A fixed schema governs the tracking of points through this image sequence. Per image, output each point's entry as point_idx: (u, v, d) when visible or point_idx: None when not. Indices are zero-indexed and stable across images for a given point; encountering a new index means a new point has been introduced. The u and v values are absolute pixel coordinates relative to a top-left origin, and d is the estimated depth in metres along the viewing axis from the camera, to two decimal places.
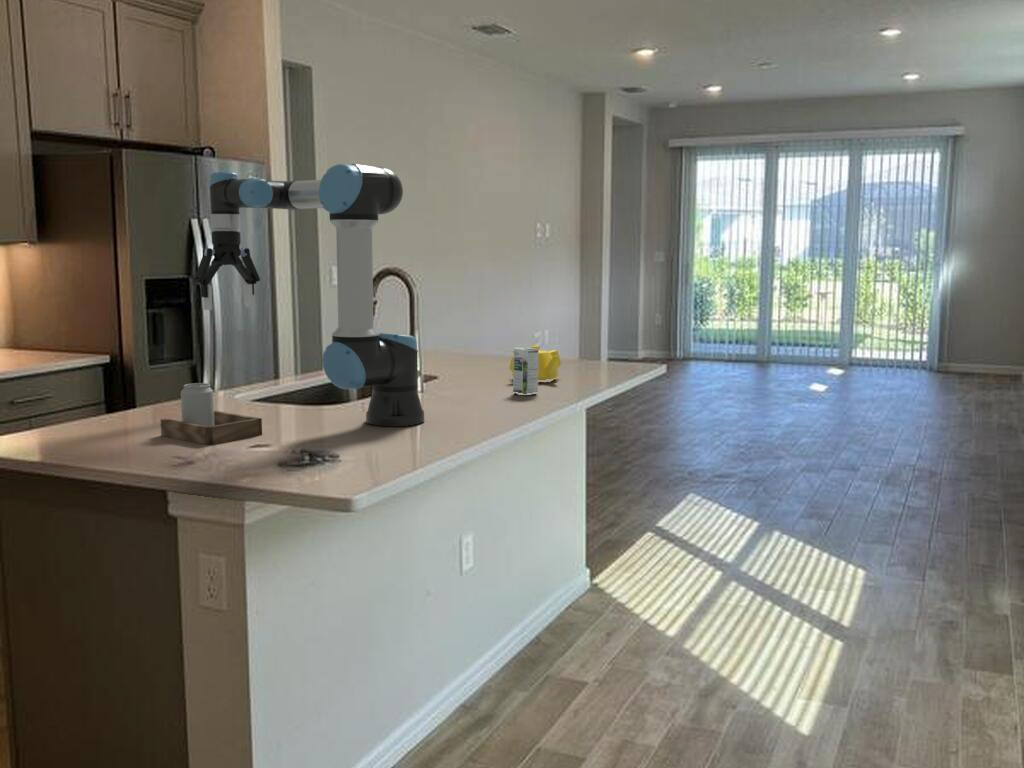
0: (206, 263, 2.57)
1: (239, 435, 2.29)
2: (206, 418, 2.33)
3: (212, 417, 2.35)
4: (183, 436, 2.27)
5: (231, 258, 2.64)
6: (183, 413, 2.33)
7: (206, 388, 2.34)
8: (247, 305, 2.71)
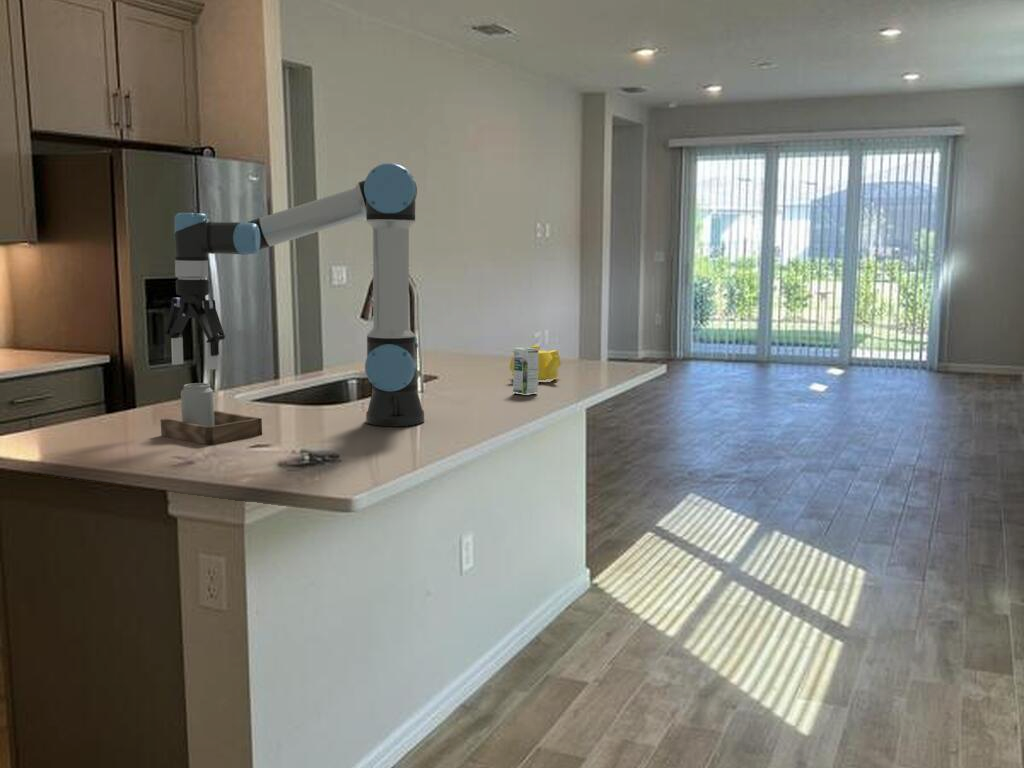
0: (169, 313, 2.36)
1: (239, 435, 2.29)
2: (206, 418, 2.33)
3: (212, 417, 2.35)
4: (183, 436, 2.27)
5: None
6: (183, 413, 2.33)
7: (206, 388, 2.34)
8: None
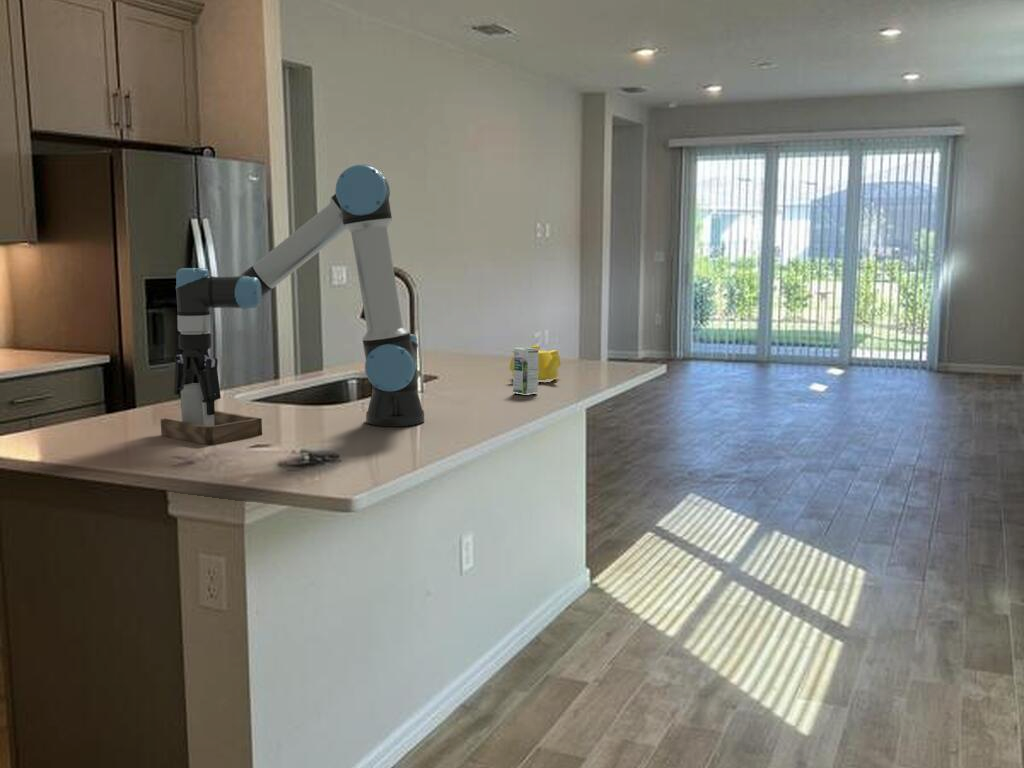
0: (175, 372, 2.37)
1: (239, 435, 2.29)
2: None
3: None
4: (183, 436, 2.27)
5: None
6: (183, 413, 2.33)
7: None
8: None
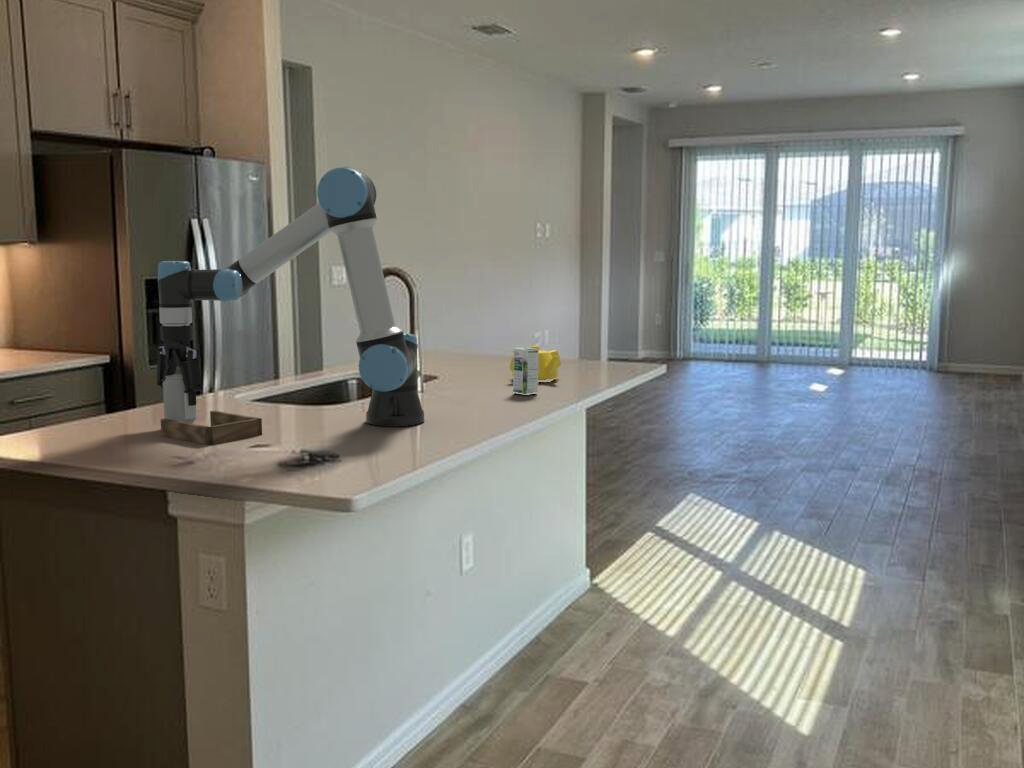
0: (158, 363, 2.41)
1: (239, 435, 2.29)
2: None
3: None
4: (183, 436, 2.27)
5: None
6: (165, 403, 2.37)
7: None
8: None
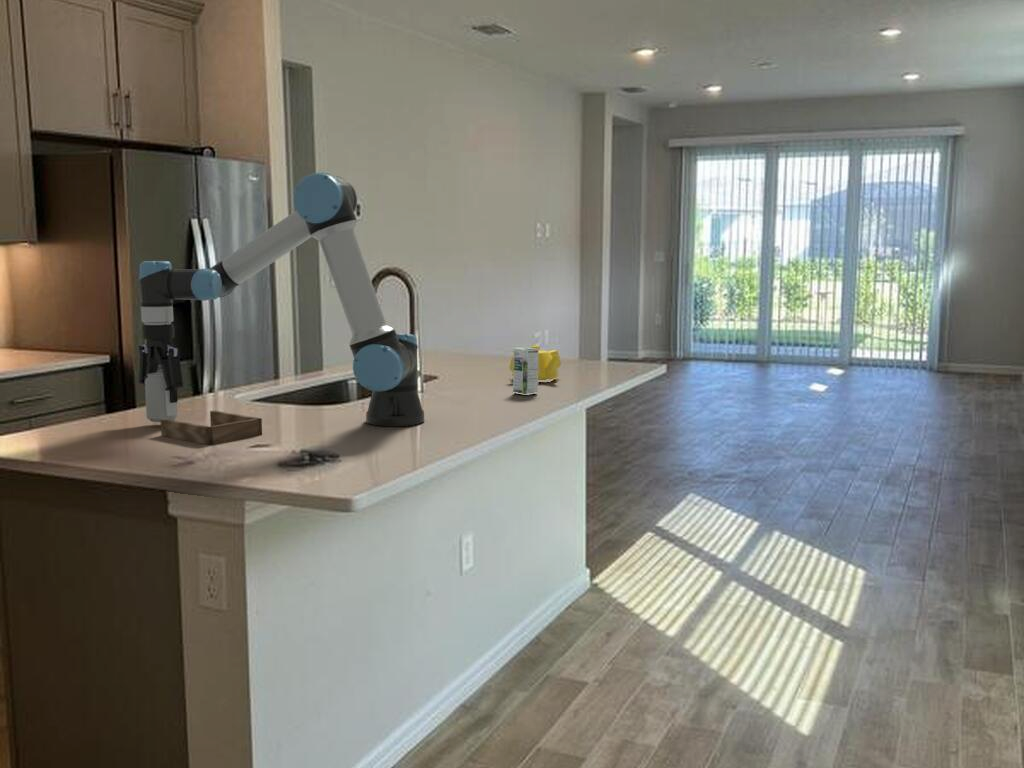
0: (140, 361, 2.45)
1: (239, 435, 2.29)
2: None
3: None
4: (183, 436, 2.27)
5: None
6: (147, 401, 2.41)
7: None
8: None
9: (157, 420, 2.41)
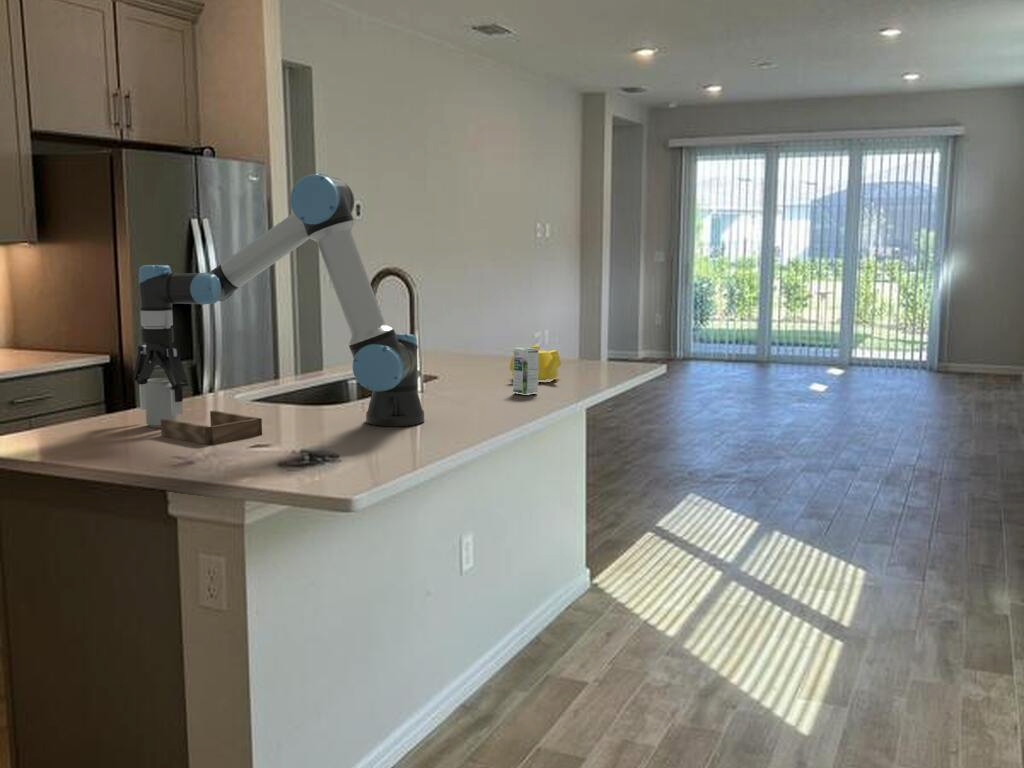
0: (137, 361, 2.46)
1: (239, 435, 2.29)
2: (169, 411, 2.42)
3: None
4: (183, 436, 2.27)
5: None
6: (147, 407, 2.42)
7: (169, 383, 2.42)
8: None
9: (157, 426, 2.42)
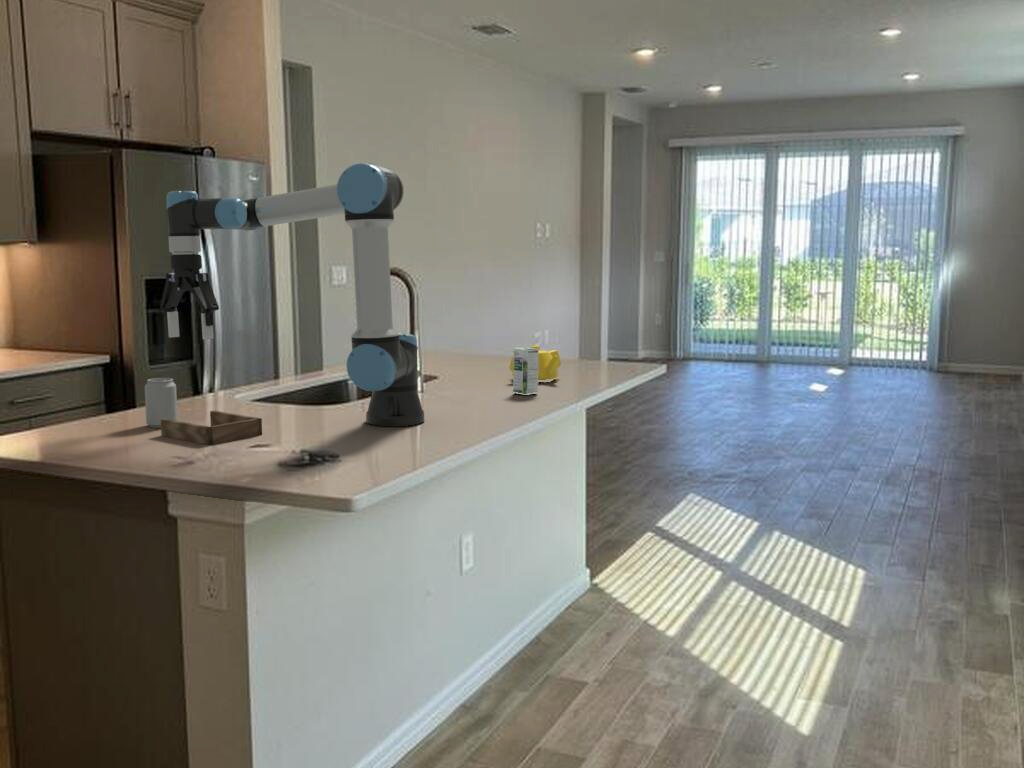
0: (165, 288, 2.47)
1: (239, 435, 2.29)
2: (169, 411, 2.42)
3: (175, 411, 2.44)
4: (183, 436, 2.27)
5: None
6: (147, 407, 2.42)
7: (169, 383, 2.42)
8: None
9: (157, 426, 2.42)
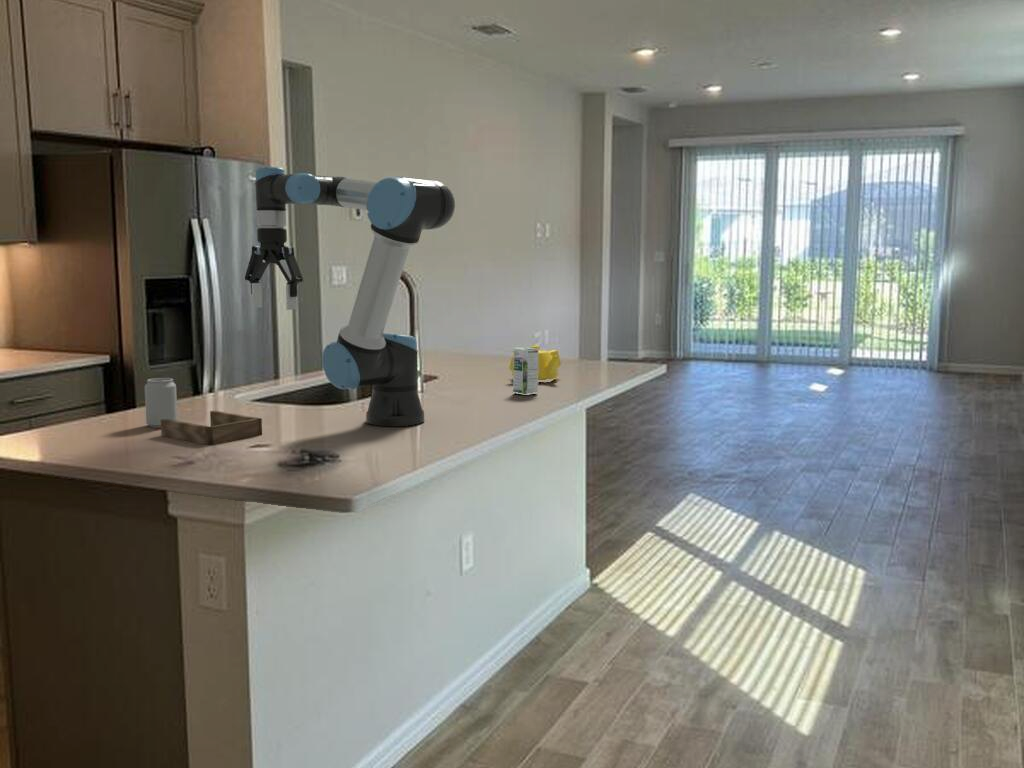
0: (250, 260, 2.59)
1: (239, 435, 2.29)
2: (169, 411, 2.42)
3: (175, 411, 2.44)
4: (183, 436, 2.27)
5: (271, 256, 2.54)
6: (146, 407, 2.42)
7: (169, 383, 2.42)
8: None
9: (157, 426, 2.42)
